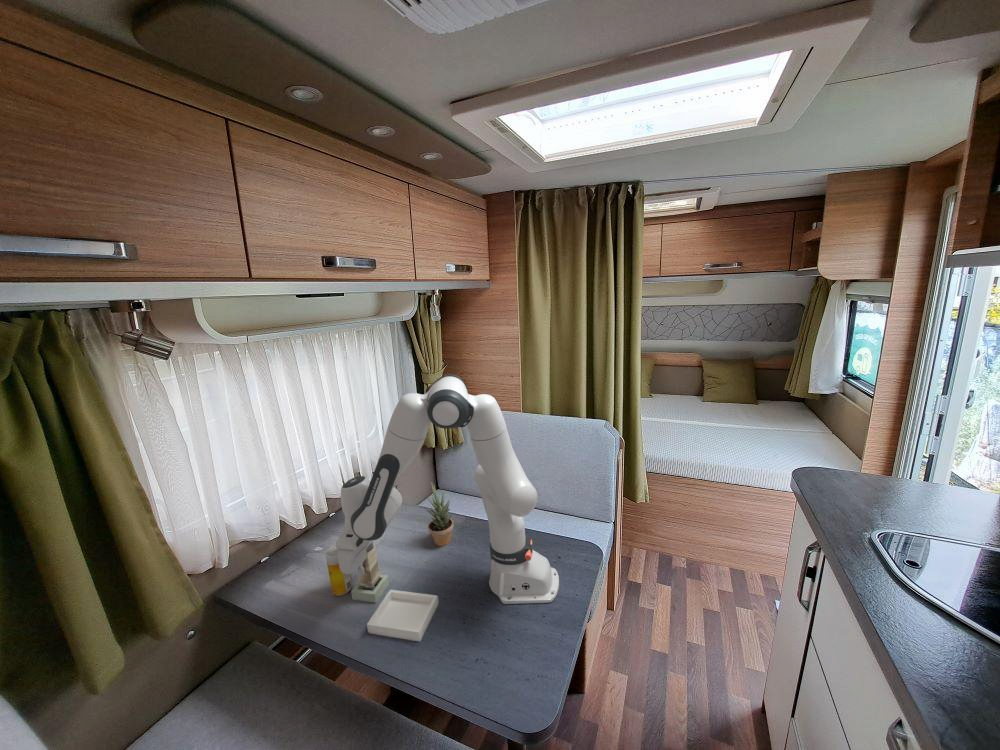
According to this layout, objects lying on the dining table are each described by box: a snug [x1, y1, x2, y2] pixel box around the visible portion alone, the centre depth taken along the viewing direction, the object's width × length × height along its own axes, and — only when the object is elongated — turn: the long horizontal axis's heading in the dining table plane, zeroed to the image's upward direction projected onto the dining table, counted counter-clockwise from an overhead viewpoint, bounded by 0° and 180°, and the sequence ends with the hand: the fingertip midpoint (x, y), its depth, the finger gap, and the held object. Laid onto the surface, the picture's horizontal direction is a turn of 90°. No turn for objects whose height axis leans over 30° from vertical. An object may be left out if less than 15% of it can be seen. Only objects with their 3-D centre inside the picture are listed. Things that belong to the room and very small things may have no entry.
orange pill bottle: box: [325, 544, 353, 597], centre depth 123 cm, size 6×6×15 cm
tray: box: [366, 589, 440, 642], centre depth 111 cm, size 16×13×3 cm
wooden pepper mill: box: [357, 542, 380, 588], centre depth 121 cm, size 5×5×13 cm
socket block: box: [350, 574, 390, 604], centre depth 123 cm, size 8×8×3 cm
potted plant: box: [425, 482, 454, 547], centre depth 143 cm, size 10×10×25 cm
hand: (367, 565), depth 121 cm, fingers closed on wooden pepper mill, 4 cm apart
